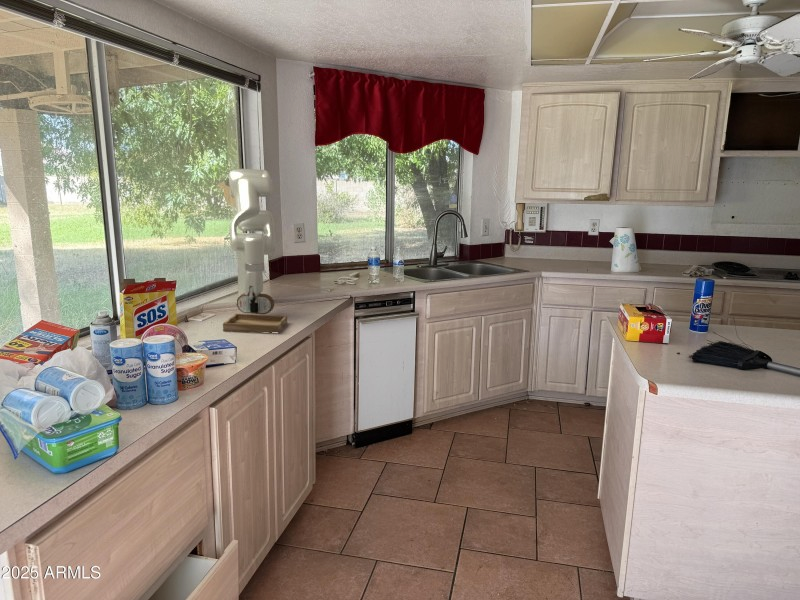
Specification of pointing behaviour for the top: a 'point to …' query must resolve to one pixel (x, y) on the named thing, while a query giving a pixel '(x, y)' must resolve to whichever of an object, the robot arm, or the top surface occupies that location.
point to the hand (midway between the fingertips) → (255, 310)
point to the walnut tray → (254, 323)
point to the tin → (263, 302)
